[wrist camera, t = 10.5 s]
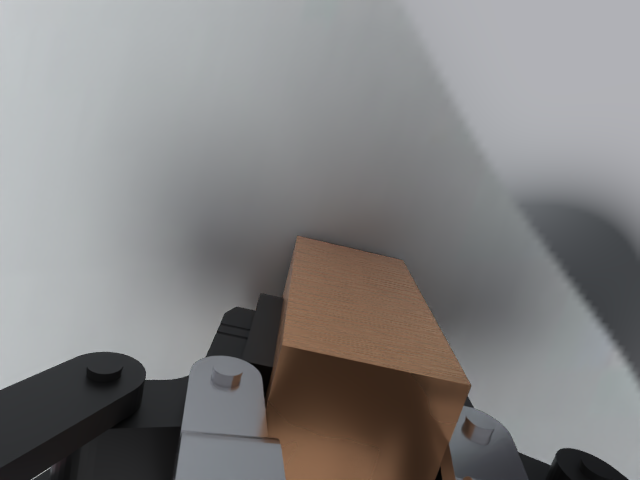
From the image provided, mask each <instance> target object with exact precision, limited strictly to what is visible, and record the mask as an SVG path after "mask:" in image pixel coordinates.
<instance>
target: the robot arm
mask: <svg viewBox="0 0 640 480" xmlns="http://www.w3.org/2000/svg"><path fill="white" fill-rule="evenodd" d="M283 300H284V298H279V297H275V296H270V295H266V294H260V297H259V301H258V304H257V308H256V311H254V310H250V309H245V308H241V307H235V308H233V309H231V310H230V311H228V312H226V313H225V314H224V316H223V319H222V321H221V324H220V326H219V328H218V330H217V333H216V335H215V337H214V339H213V342H212V344H211V346H210V349H209V351H208V353H207V355H206V357H205V358H203V359H200V360H198V361H197V362H195V363H194V364H193V366H192V367H191V370H190V374H189V376H186V377H183V378H178V379H172V380H145V378H146V371H145V368H144V367H143V365H142V364H141V363H140V362H139V361H137V360H136V359H134V358H132V357H130V356H127V355H124V354H119V353H113V352H95V353H88V354H84V355H81V356H78V357H75V358H73V359H71V360H68V361H66V362H64V363H62V364H59V365H57V366H55V367H52V368H50V369H48V370H45V371H43V372H41V373H39V374H36V375H34V376H32V377H29V378H27V379H25V380H22V381H20V382H18V383H16V384H13V385H11V386H9V387H6V388H4V389H2V390H0V480H31V479H32V478H34V477H36V476H37V475H39V474H40V473H42V472H43V471H45V470H46V469H48V468H49V467H51V468H50V469H49V470H47V471H46V472H44V473H42V474H41V475H39V476H38V477H36V478H35V479H33V480H286V478H285V471H284V464H283V457H282V449H281V444H280V441H279V439H278V438H269V437H268V431H267V421H266V411H265V402H264V401H265V397H266V392H267V388H268V384H269V380H270V376H271V372H272V368H273V362H274V356H275V350H276V343H277V337H278V331H279V325H280V318H281V312H282V306H283ZM435 480H629V479H627V478H626V477H625V476H623V475H622V474H621V473H620V472H618V471H617V470H616V469H614V468H613V467H612V466H610V465H609V464H607V463H606V462H604V461H603V460H601V459H599V458H597V457H595V456H593V455H591V454H589V453H586V452H583V451H580V450H576V449H571V448H563V449H560V450H559V451H557V453H556V455H555V457H554V460H553V462H552V464H551V465H548V464H546V463H543V462H541V461H538V460H536V459H534V458H531V457H529V456H526V455H524V454H522V453H519V452H518V451H517V449H516V446H515V443H514V441H513V438H512V436H511V434H510V433H509V431H508V430H507V429H506V428H505V427H504V426H503V425H502V424H501V423H500V422H499V421H497V420H496V419H494V418H493V417H491V416H490V415H488V414H486V413H484V412H482V411H480V410H477V409H474V407H473V405H472V403H471V402H470V400H469V398H468V396H467V398H466V401H465V403H464V406H463V409H462V411H461V414H460V416H459V419H458V421H457V424H456V427H455V429H454V432H453V434H452V437H451V440H450V442H448V445H447V448H446V450H445V453H444V455H443V458H442V461H441V463H440V468H439V471H438V473H437V476H436V479H435Z"/></svg>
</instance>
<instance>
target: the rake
mask: <svg viewBox="0 0 640 480" xmlns="http://www.w3.org/2000/svg"><path fill="white" fill-rule="evenodd" d="M282 298H284V300H283V306H282V312H281V318H280V325H279V331H278V337H277V343H276V350H275V356H274V362H273V368H272V372H271V376H270V380H269V384H268V388H267V392H266V397H265V401H264V402H265V411H266V421H267V431H268V437H269V438H278V439H279V441H280V444H281V449H282V457H283V464H284V471H285V478H286V480H435V479H436V476H437V473H438V471H439V468H440V463H441V461H442V458H443V455H444V453H445V450H446V448H447V445H448V442H450V440H451V437H452V434H453V432H454V429H455V427H456V424H457V421H458V419H459V416H460V414H461V411H462V409H463V406H464V403H465V401H466V398H467V396H468V393H469V390H470V388H471V384H470V382H469V380H468V379H467V377H466V375H465V373H464V371H463V370H462V368H461V366H460V364H459V362H458V360H457V359H456V357H455V355H454V353H453V351H452V349H451V348H450V346H449V344H448V342H447V340H446V338H445V337H444V335H443V333H442V331H441V329H440V327H439V326H438V324H437V322H436V320H435V318H434V316H433V315H432V313H431V311H430V309H429V307H428V306H427V304H426V302H425V300H424V298H423V296H422V295H421V293H420V291H419V289H418V287H417V285H416V284H415V282H414V280H413V278H412V276H411V274H410V273H409V271H408V269H407V267H406V265H405V263H404V262H403V260H399V259H395V258H391V257H387V256H382V255H378V254H374V253H369V252H365V251H361V250H357V249H352V248H348V247H344V246H340V245H335V244H331V243H327V242H322V241H318V240H314V239H310V238H305V237H301V236H297V239H296V243H295V247H294V251H293V256H292V260H291V264H290V268H289V272H288V276H287V280H286V285H285V289H284V293H283V297H282Z"/></svg>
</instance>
